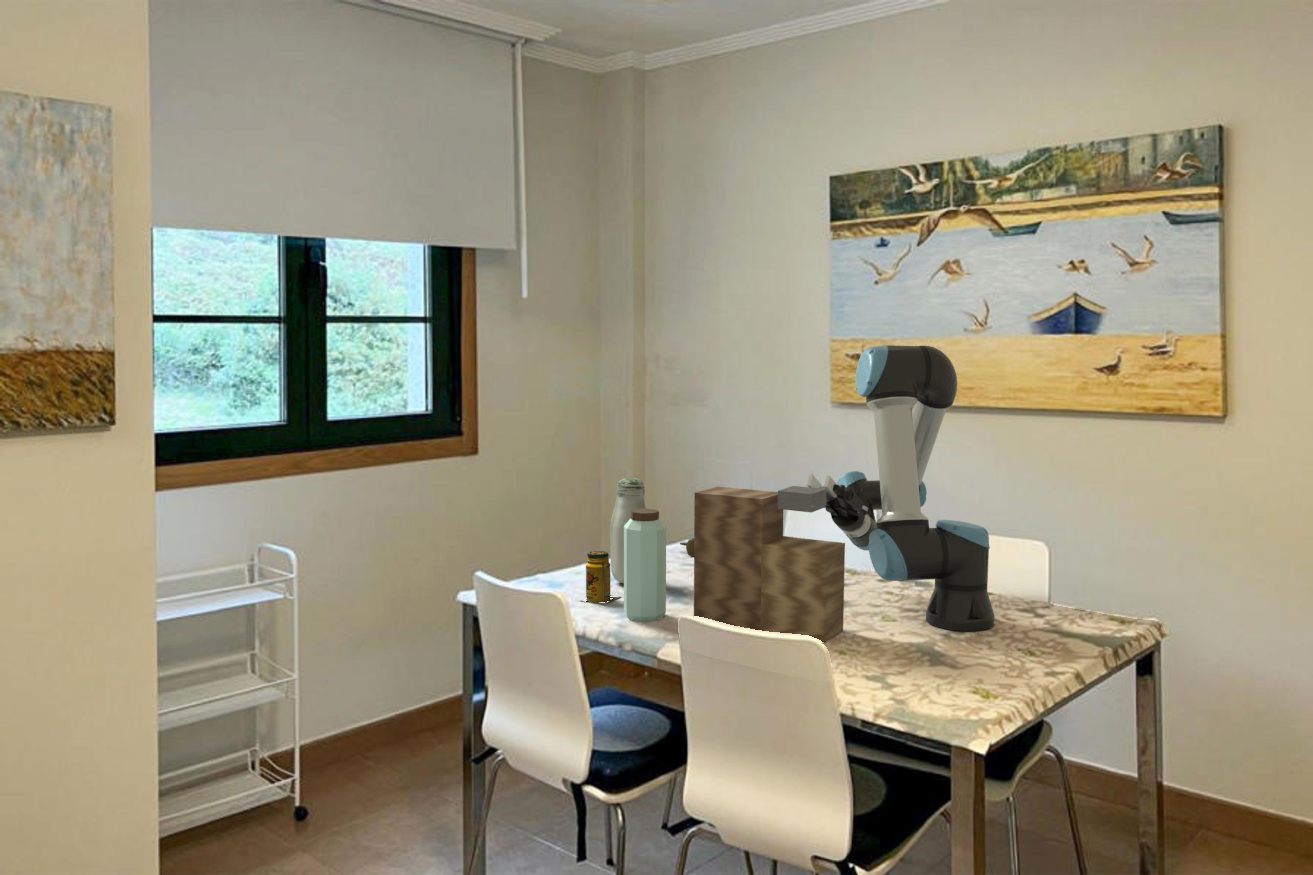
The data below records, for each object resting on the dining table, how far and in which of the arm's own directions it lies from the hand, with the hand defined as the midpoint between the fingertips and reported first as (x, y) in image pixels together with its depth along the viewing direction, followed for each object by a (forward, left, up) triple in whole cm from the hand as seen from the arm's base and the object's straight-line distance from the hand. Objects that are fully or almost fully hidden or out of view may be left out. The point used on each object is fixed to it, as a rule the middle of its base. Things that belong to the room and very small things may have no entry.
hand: (818, 480), depth 247 cm
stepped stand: (+8, +9, -33) cm, 35 cm away
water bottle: (+36, +16, -33) cm, 52 cm away
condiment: (+54, +8, -33) cm, 64 cm away
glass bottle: (+57, -10, -33) cm, 67 cm away
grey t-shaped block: (0, +2, -5) cm, 5 cm away
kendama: (+56, -52, -33) cm, 83 cm away
